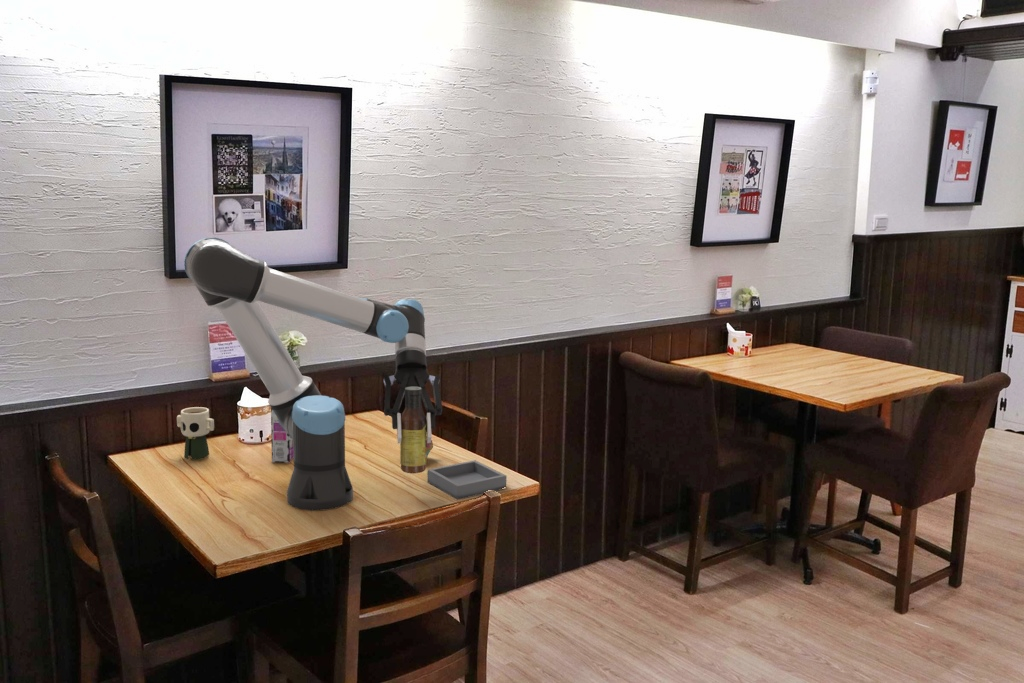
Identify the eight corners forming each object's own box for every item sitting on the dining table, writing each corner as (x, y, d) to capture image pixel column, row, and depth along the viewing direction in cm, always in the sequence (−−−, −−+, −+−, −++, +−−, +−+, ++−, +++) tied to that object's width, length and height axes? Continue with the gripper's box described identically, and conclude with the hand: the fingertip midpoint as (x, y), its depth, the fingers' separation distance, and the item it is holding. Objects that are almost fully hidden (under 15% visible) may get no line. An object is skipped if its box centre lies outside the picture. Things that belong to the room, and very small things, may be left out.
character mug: (170, 460, 240) (168, 411, 238) (187, 452, 247) (184, 405, 244) (207, 464, 237) (205, 415, 235) (222, 456, 244) (221, 408, 242)
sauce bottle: (431, 472, 216) (433, 390, 213) (407, 476, 213) (409, 392, 209) (417, 464, 222) (419, 384, 218) (394, 468, 218) (396, 386, 215)
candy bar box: (290, 463, 239) (289, 402, 236) (271, 463, 239) (269, 402, 236) (299, 450, 250) (297, 392, 247) (280, 450, 250) (279, 391, 247)
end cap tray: (457, 499, 216) (457, 486, 216) (427, 482, 228) (427, 469, 227) (506, 488, 224) (506, 475, 224) (475, 472, 236) (475, 460, 235)
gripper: (448, 364, 230) (454, 447, 217) (370, 364, 226) (372, 448, 214) (451, 348, 224) (457, 431, 211) (371, 347, 220) (373, 433, 207)
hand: (414, 440), depth 212 cm, fingers closed on sauce bottle, 6 cm apart
